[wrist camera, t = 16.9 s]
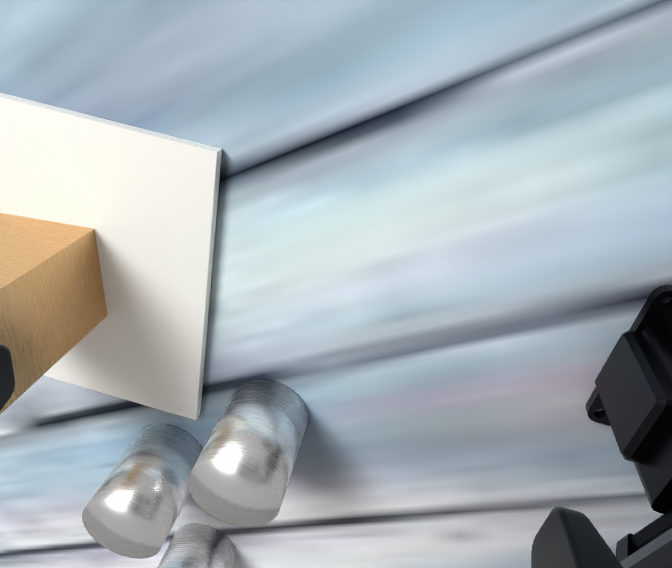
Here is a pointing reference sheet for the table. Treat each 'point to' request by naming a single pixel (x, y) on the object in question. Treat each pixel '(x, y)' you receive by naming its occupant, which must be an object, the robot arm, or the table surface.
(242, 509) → the cylinder
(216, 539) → the cylinder
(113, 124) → the white mat
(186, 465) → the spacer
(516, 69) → the table surface
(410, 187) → the table surface
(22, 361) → the tan tall block
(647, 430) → the robot arm
